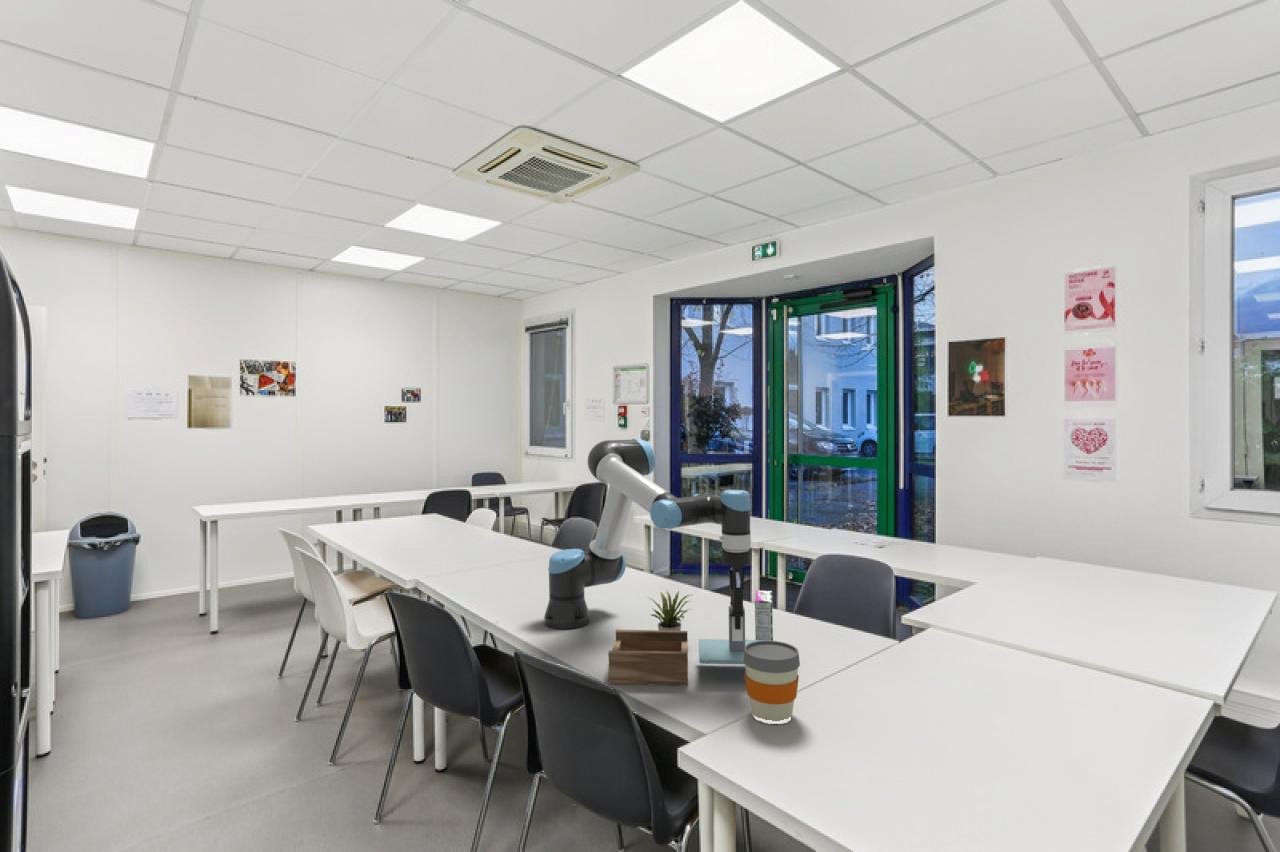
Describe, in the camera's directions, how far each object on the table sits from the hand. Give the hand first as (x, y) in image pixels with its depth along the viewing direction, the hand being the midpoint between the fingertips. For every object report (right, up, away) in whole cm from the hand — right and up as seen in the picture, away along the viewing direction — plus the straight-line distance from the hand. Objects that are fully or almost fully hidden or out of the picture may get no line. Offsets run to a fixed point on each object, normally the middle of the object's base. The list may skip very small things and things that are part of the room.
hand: (736, 638), depth 167 cm
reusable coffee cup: (+4, -10, -23) cm, 26 cm away
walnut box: (-23, -10, +2) cm, 25 cm away
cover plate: (0, -4, 0) cm, 4 cm away
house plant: (-15, -10, +21) cm, 28 cm away
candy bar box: (+10, -9, +15) cm, 21 cm away
